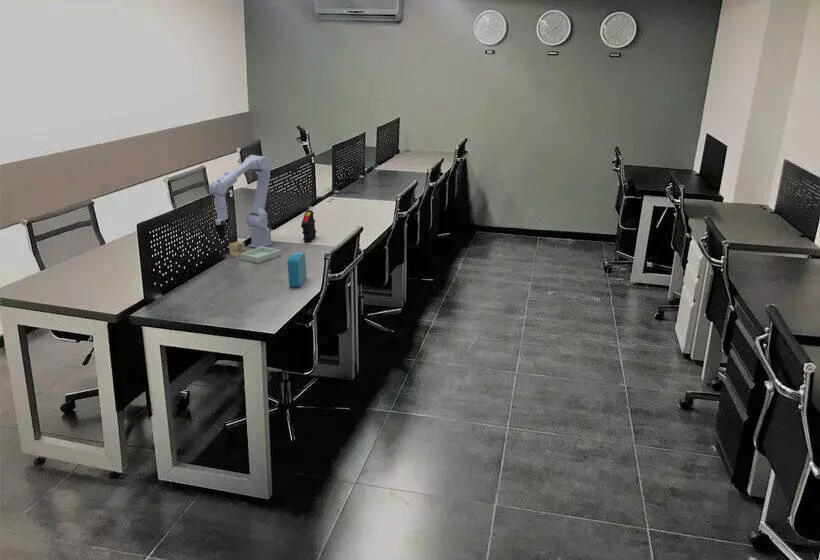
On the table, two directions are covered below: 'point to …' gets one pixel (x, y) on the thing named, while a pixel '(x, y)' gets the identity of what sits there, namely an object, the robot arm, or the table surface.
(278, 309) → the table surface
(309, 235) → the black ridged block
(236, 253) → the birch block
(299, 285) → the data package
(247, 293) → the table surface
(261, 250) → the sage tray
